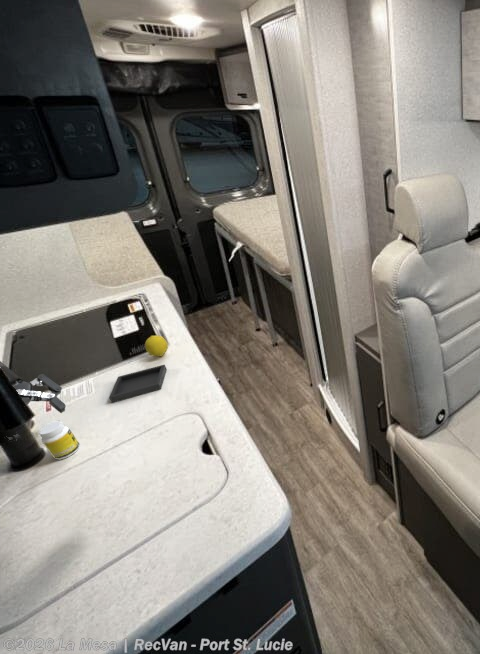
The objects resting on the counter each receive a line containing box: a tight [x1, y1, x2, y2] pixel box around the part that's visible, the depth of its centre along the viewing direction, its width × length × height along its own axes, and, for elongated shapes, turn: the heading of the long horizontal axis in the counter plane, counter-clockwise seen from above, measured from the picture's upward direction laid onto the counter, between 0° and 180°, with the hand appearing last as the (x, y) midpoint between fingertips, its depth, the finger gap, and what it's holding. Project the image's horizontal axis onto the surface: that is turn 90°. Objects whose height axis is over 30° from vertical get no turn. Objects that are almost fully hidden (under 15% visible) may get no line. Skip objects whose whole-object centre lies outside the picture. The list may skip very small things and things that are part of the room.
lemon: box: [144, 335, 169, 357], centre depth 123 cm, size 6×6×8 cm
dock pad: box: [108, 364, 168, 404], centre depth 113 cm, size 12×10×2 cm
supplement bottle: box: [38, 420, 81, 460], centre depth 91 cm, size 5×5×8 cm
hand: (41, 424), depth 91 cm, fingers open, 8 cm apart
